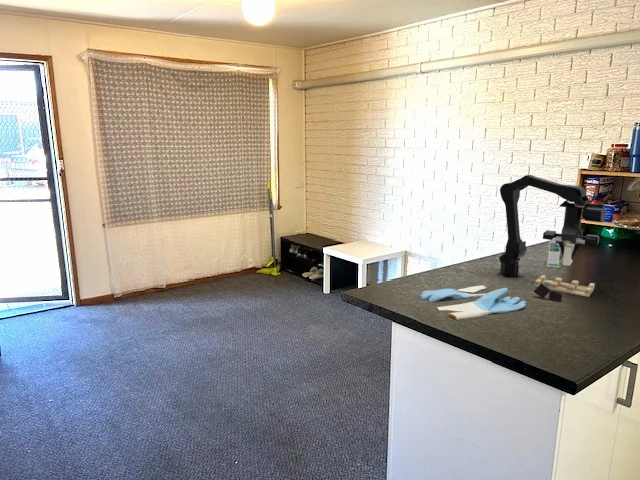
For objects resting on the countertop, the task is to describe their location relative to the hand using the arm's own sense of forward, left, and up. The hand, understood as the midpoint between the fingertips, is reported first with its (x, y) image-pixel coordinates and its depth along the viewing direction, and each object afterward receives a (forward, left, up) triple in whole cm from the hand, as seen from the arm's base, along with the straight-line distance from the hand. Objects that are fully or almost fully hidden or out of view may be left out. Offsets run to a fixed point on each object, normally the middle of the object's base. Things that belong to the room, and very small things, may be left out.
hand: (568, 258), depth 180 cm
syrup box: (+18, +29, -12) cm, 36 cm away
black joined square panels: (-16, -11, -12) cm, 23 cm away
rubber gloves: (-45, -8, -12) cm, 47 cm away
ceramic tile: (0, 0, -2) cm, 2 cm away
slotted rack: (-1, -1, -12) cm, 12 cm away
